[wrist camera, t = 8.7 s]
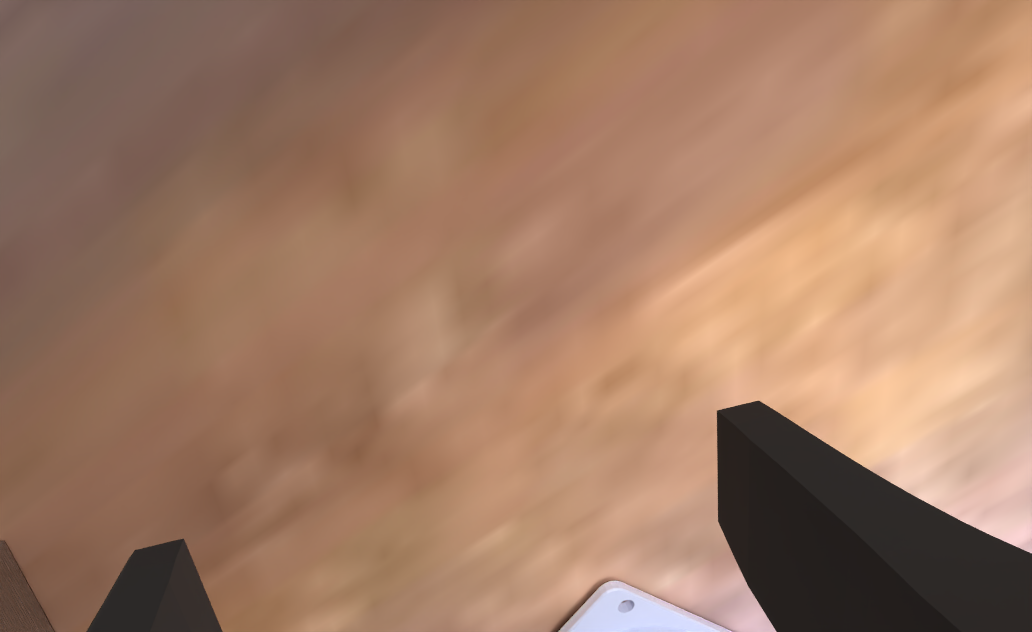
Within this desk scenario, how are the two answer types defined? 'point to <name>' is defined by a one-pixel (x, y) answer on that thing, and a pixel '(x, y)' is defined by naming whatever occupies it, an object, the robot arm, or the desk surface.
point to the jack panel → (18, 599)
